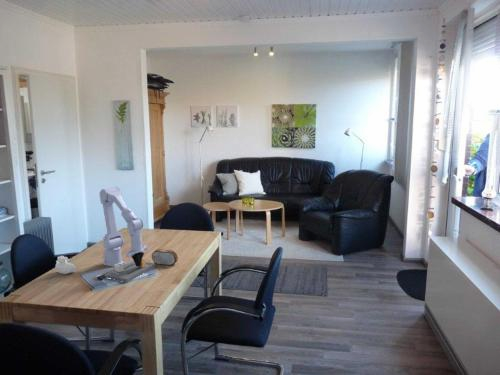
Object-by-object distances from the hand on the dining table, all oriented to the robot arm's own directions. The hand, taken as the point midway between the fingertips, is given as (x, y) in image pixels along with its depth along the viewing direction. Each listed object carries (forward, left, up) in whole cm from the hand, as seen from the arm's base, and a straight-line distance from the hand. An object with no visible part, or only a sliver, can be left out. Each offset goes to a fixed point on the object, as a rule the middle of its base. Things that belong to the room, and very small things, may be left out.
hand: (138, 266), depth 218 cm
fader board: (-3, -2, -3) cm, 5 cm away
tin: (+6, +15, -4) cm, 17 cm away
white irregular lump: (-36, -16, -4) cm, 40 cm away
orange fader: (0, +3, -1) cm, 3 cm away
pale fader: (-7, -7, -1) cm, 10 cm away
